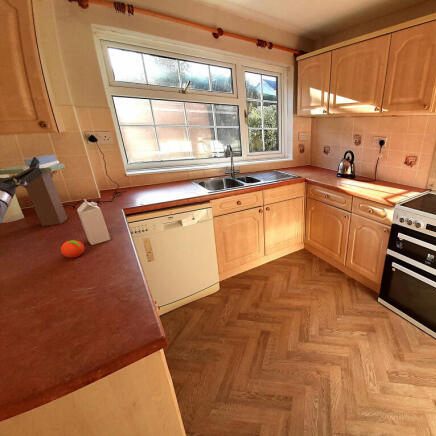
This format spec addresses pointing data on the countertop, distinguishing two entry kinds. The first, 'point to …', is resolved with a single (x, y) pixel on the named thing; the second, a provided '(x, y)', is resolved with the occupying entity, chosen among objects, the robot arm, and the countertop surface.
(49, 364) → the countertop surface
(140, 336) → the countertop surface
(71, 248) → the clementine
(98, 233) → the milk carton
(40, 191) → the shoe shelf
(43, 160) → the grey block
